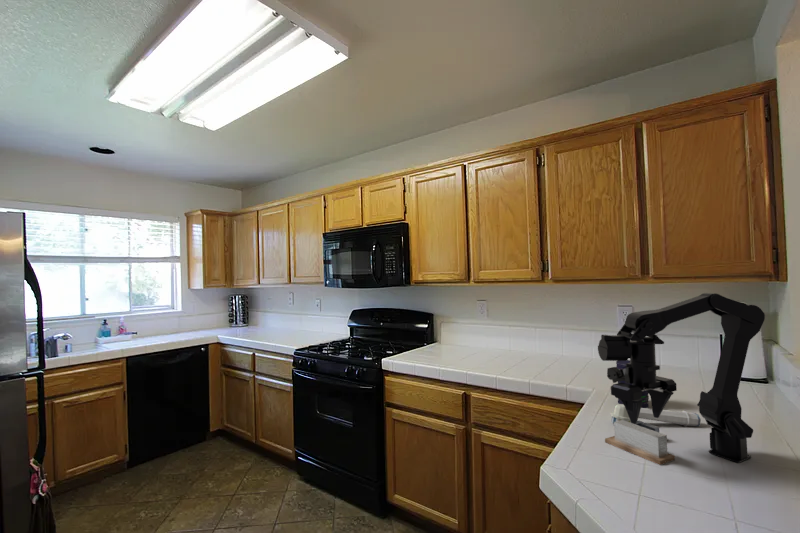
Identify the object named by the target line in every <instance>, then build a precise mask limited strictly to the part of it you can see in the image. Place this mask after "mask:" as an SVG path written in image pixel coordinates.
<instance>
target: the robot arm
mask: <svg viewBox="0 0 800 533" xmlns="http://www.w3.org/2000/svg"><path fill="white" fill-rule="evenodd" d="M709 311H710V312H711V313H713V314H714V315H717V316H718V317H720V326H721V328H722V330H723V333H724V338H723V343H722V345H721V351H720V355H719V359H718V364H717V369H716V372H715V375H714V376H715V377H714V380H713V385H712V387H711V389H710V390H709V391H707V392H706V391H701V392H700V395H699V400H698V403H697V404H696V405H697V407H698V412H699V414H700V415H701V417H702V418H703V419H705V422H706V424H707V425H708V426H709V427H711V428H710V430H711V432H709V447H710V449H709V450H708V453H709V454H711V455H715V456H717V457H719V458H723V459H725V460H729V461H731V462H735V463H741V462H742V463H743V461H746V460H749V459H751V458H752V455H751V454H749V453H748V441H747V440H748V439H751V438H752V436H753V433H754V429H753V428H752V427H751V426H750V425H749V424H748V423H746V422H745V421H744V420H743V419H742V412H743V411H742V410H743V408H742V406H741V402H740V399H739V397H738V393H739V387H740V385H741V381H742V380H741V379H742V375H743V370H744V366H745V362H746V359H747V353H748V350H749V345H750V342H751V340H752V339H753V338H754V337H755V336H756V335H758V333H760V331H761V329H762V327H763V325H764V322H765V320H766V314H765V312H764V311H763V309H762V308H760V307H759V306H757V305H756V304H745V303H743V302H741V301H738V300H734V299H732V298H728V297H725V296H723V295H721V294H719V293H713V292H704V293H701V294H700V295H698V296H695V297H692V298H688V299H685V300H683V301H678V302H677V303H673V304H671V305H668V306H665V307H661V308H658V309H649V310H641V311H634V312H631V313H628V315H626V318H625V323H624V324H623V325H622V327H621V328H620V329H619V331H618V332H617V333H616V334H615V335H614V334H613V335H611V334H610V335H609V334H601V336H600V337H601V338H600V340H599V342H598V345H597V352H598V356H599V358H600V360H602V361H603V362H607V361H608V362H614V361H615V362H616V361H626V360H630V363H627V364H626V369H621V370H618V369H617V367H616V366H612V367H607V371H606V372H607V373H606V376H607V378H608V379H609V380H610V381H612V383H613V384H612V385H611V386H610V395H611V396H614V397H615V398H616V399H617V400H618V399H620V400H621V401H622V402H623V404H624V406H625V408H626V411H627V413H628V416H629V418H630V421H631V423H633V424H636V423H637V421H639V418H638V417H639V413H640V409H641V406H642V402H643V400H642V399H641V397H642V392H643V391H647V392H648V393H649V394H648V395H649V396H650V402H651V409H652V411H653V416H654V417H655V418H659V416H660V414H661V412H662V410H665V406H666V405H667V403H668V402H669V400H670V399H671V397H672V396H673V395H674V393H675V392H676V391H678V390H677V383H676V382H675V380H674V379H672V378H667V377H663V376H658V375H657V371H659V370H661V366H660V365H657V362H656V361H657V359H656V358H657V357H656V345H664V344H665V341H663V340H662V339H661V338H660V337H658V333H660V332H662V331H663V330H665V329H666V328H667V327H668V326H669V325H671V324H674V323H676V322H678V321H682V320H686V319H689V318H692V317H694V316H697V315H700V314H704V313H707V312H709ZM618 381H625V383H618ZM626 383H629V384H626ZM630 383H631V384H632V385H630Z"/></svg>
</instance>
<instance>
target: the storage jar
mask: <svg viewBox="0 0 800 533" xmlns="http://www.w3.org/2000/svg"><path fill="white" fill-rule="evenodd" d="M627 363H630V359H628V360H626V361H615V364H616V366H615V367H617V369H618V370H621V369H626V364H627ZM617 383H625V381H618V382H617ZM626 384H629V383H626ZM630 385H632V384H631V383H630ZM649 396H650V394H649V393H648V392H647V391H643V392H642V397H641V399H642V400H643V402H642V406H641V408H648V409H649V407H650V405H649V399H650V398H649ZM617 404H623V402H622V401H621V400H620V399H618V398H617ZM623 405H624V404H623Z"/></svg>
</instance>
